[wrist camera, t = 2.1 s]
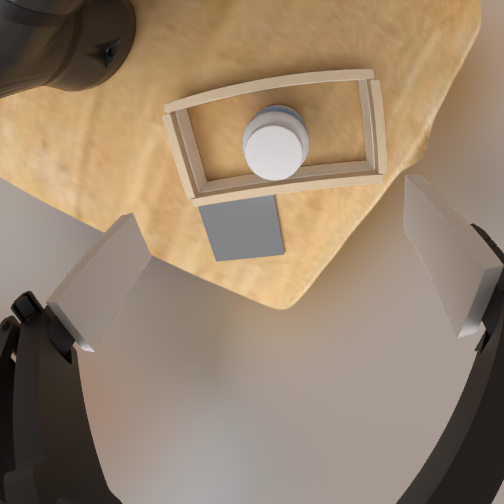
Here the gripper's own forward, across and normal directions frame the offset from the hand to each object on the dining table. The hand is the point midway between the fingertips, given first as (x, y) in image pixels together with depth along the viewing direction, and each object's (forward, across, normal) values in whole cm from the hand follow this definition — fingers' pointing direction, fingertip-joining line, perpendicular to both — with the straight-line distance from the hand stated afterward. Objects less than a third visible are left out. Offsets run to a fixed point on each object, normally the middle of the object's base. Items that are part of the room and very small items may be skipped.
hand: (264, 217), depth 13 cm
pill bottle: (+22, 0, 0) cm, 22 cm away
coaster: (+22, -7, -12) cm, 26 cm away
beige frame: (+22, 0, 0) cm, 22 cm away
